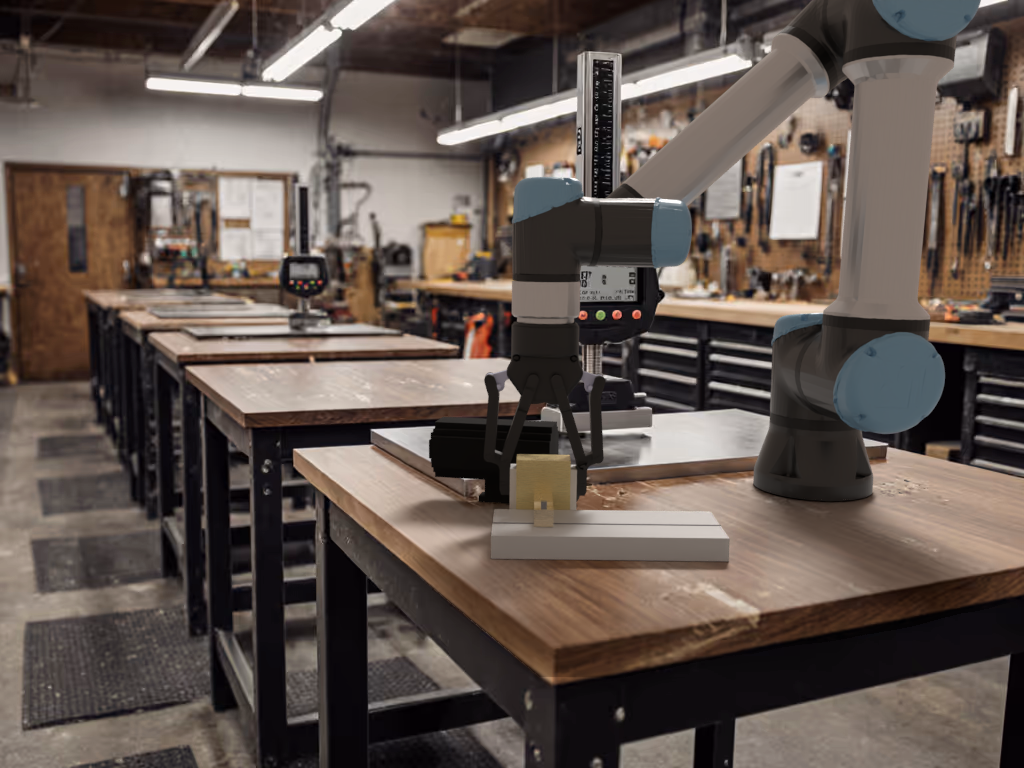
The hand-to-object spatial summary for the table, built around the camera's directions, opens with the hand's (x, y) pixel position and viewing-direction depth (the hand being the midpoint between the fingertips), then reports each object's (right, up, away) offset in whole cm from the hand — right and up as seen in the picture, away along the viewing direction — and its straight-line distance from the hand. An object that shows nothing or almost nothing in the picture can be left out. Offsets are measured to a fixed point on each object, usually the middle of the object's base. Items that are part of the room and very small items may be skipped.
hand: (542, 522), depth 108 cm
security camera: (-4, +1, +10) cm, 11 cm away
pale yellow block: (0, -1, -4) cm, 4 cm away
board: (+6, -1, -8) cm, 10 cm away
